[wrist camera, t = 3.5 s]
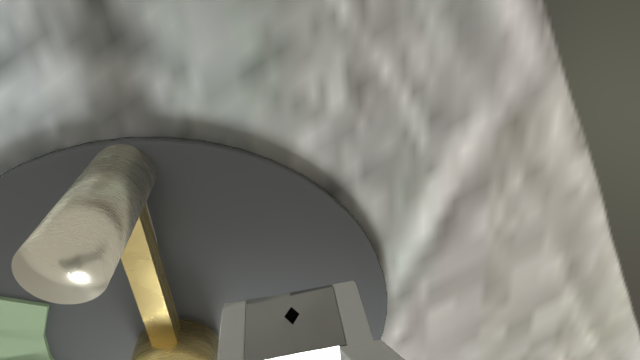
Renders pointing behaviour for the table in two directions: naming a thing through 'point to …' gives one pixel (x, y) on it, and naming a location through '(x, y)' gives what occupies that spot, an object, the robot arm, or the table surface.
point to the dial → (185, 245)
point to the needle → (111, 254)
